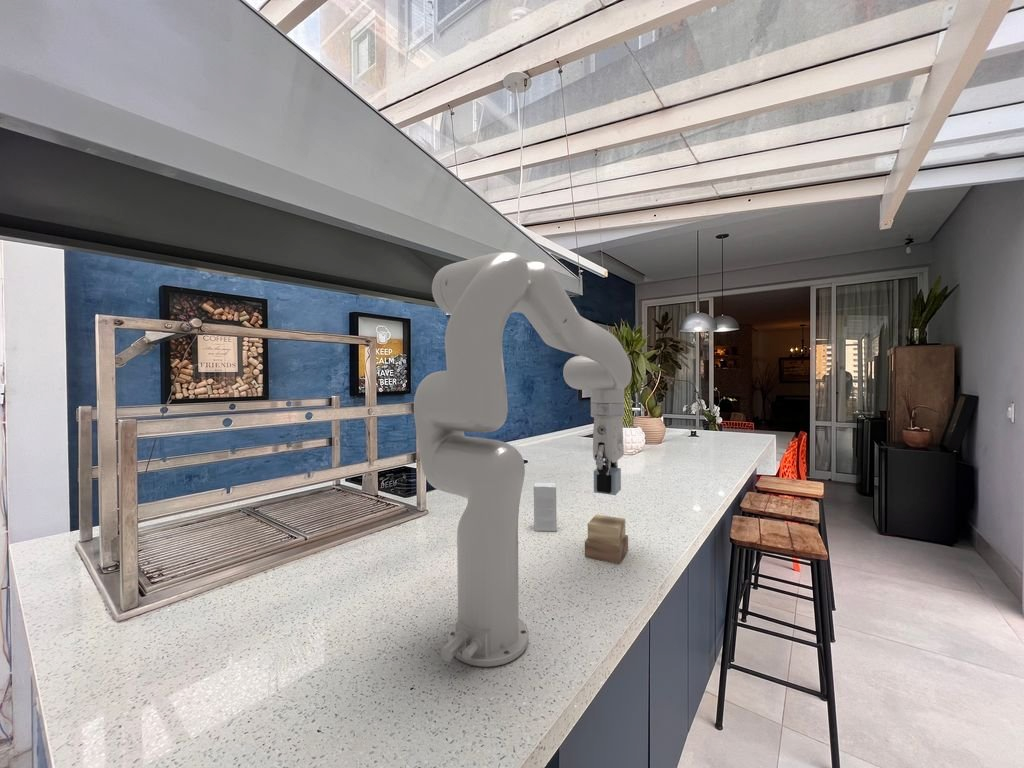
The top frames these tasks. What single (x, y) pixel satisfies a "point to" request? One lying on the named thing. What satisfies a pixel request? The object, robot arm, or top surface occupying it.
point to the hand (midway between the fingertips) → (607, 488)
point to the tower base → (606, 551)
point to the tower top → (606, 530)
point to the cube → (615, 481)
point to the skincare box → (545, 507)
